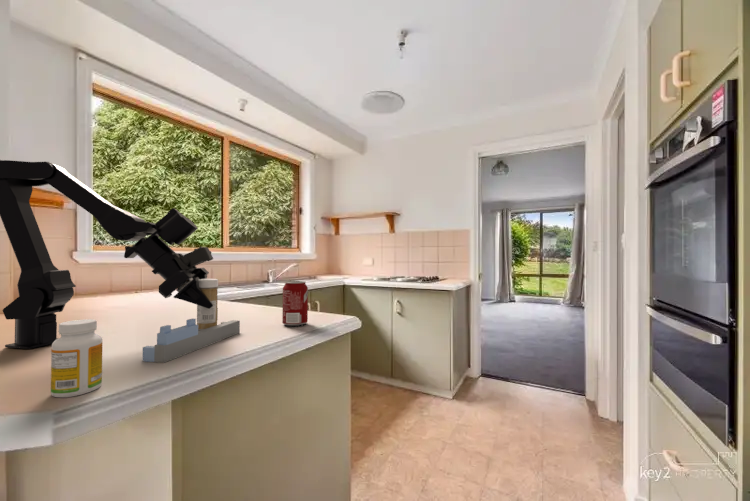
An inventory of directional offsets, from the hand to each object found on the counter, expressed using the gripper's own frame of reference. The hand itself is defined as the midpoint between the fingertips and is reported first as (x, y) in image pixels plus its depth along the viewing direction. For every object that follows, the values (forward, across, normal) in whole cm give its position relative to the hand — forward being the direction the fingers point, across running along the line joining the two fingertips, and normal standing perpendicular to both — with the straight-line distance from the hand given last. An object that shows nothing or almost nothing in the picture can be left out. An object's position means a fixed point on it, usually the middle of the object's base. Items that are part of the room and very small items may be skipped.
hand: (213, 305), depth 78 cm
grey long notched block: (+4, -8, +6) cm, 11 cm away
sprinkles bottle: (+4, 0, +6) cm, 7 cm away
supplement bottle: (-3, -29, +14) cm, 32 cm away
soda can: (+19, +8, -8) cm, 22 cm away
